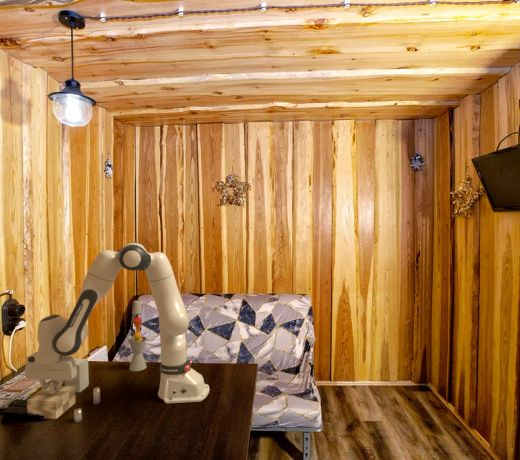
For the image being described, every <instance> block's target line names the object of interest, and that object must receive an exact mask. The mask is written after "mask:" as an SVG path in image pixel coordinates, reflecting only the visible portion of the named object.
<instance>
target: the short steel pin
mask: <svg viewBox="0 0 520 460" xmlns="http://www.w3.org/2000/svg"><path fill="white" fill-rule="evenodd" d="M73 418H74V420H73V421H74V423H79V422H81V421H83V410H82V408H80V407H79V408H75V409H74V410H73Z"/></svg>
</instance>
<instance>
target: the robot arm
mask: <svg viewBox="0 0 520 460" xmlns="http://www.w3.org/2000/svg"><path fill="white" fill-rule="evenodd" d="M123 269H125V270H128V271H132V272H133V271H134V272H137V271H144V272H145V274H146V275H145V276H146V277H147V281H148V282H147V283H148V285H149V287H150V291H151V294H152V298H153V300H154V304H155V306H156V310H157V311H158V312H157V313H158V325H159V326H158V328H159V338H160V339H159V340H160V362H159V372H160V373H159V374H160V381H159V383H160V384H159V389H158V392H157V396H158V398H159V399H161V400H163V402H164V403H165V404H177V403H180V404H181V403H194V402H196V403H197V402H198V403H199V402H202V401H203V400H205V399H206V398H207V396H208V395H209V393H210V385H209V384H207V383H205V380H204V377H203V375H202V374H201V373H199V372H197V371H196V370H195V369H194V368H192V363H193V361H192V360H190V361H189V360H188V358H187V354H188V353H187V338H186V332H187V330H188V329H189V325H190V322H189V320H190V319H189V316H188V313H187V311H186V307H185V304H184V300H183V299H182V296H181V294H180V290H179V288H178V284H177V280H176V277H175V274H174V271H173V267H172V265H171V263H170V260H169V259H168V257H167V254H165V253H163V252H161V251H156V252H149V251H147V249H146V247H145V246H144V244H142V243H140V242H137V241H132V242H129V243H127V244H125V245H123V247H121V248H119V249H118V250H116V251H114V250H111V249H103V250H101V251H100V252H99V253H98V254H97V256H95V258H94V260H93V261H92V263H91V265H90V267H89V269H88V270H87V272H86V275H85V277H84V280H83V283H82V286H81V290H80V293H79V295H78V299H77V302H76V303H75V306H74V308H73V309H72V311H71V314H70V316H69V317H68V318H65V317H63V316H62V315H60V314H51V315H47V316H45V317H43V318H41V320H40V321H39V322H38V325H37V342H38V349H37V351H36V352H33V353H32V354H30V355H28V356H26V358H25V362H26V364H25V366H24V367H25V368H24V369H25V370H24V374H25V375H24V376H25V377H26V378H27V380H28V379H29V380H30V379H31V380H38V382H39V384H40V385H41V390H42V389H43V390H46V389H48V385H49V383H47V382H46V380H49V381H51V380H57V385H56V386H55V388H56V389H55V390H60V389H61V388H62V386H63V385H62V384H63V383H64V382H65V380H72V379H74V378H75V377H76V376H77V369H76V361H75V359H76V358H74V357H73V356H72V355H74V354H75V353H77V352H78V351H79V349H80V348H81V346H82V344H83V343H84V342H85V340H86V339H87V337H88V335H89V327H88V325H87V324H86V323H87V322H88V320H89V317H90V315H91V313H92V311H93V310H94V309H95V308H96V306H97V305H98V304H99V303H100V302H101V301H102V299H103V298H105V297H106V295H107V294H108V292H109V291H110V290H111V288H112V287H113V285H114V283H115V280H116V278H117V276H118V274H119V272H120V271H121V270H123Z"/></svg>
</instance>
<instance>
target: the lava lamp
mask: <svg viewBox="0 0 520 460" xmlns="http://www.w3.org/2000/svg"><path fill="white" fill-rule="evenodd" d="M131 314H132V315H139V314H140V315H141V314H143V311H142V305H141V301H140V300H134V301H133V303H132V310H131ZM132 324H133V325H134V326H135V333H134V334H133V337H130V338H129V339H127V341H128V342H127V343H128V345H129V346H130V349H131V351H132V353H133V354H132V358H131V361H130V364H129V368H128V370H129V371H131V372H140V371H143V370H146V369H147V364H146V361H145V358H144V354H143V350H144V348H145V345H146V342H147V337H146V336H142V334H141V325H142V318H141V317H140V316H135V317H134V318H133V319H132Z"/></svg>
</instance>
